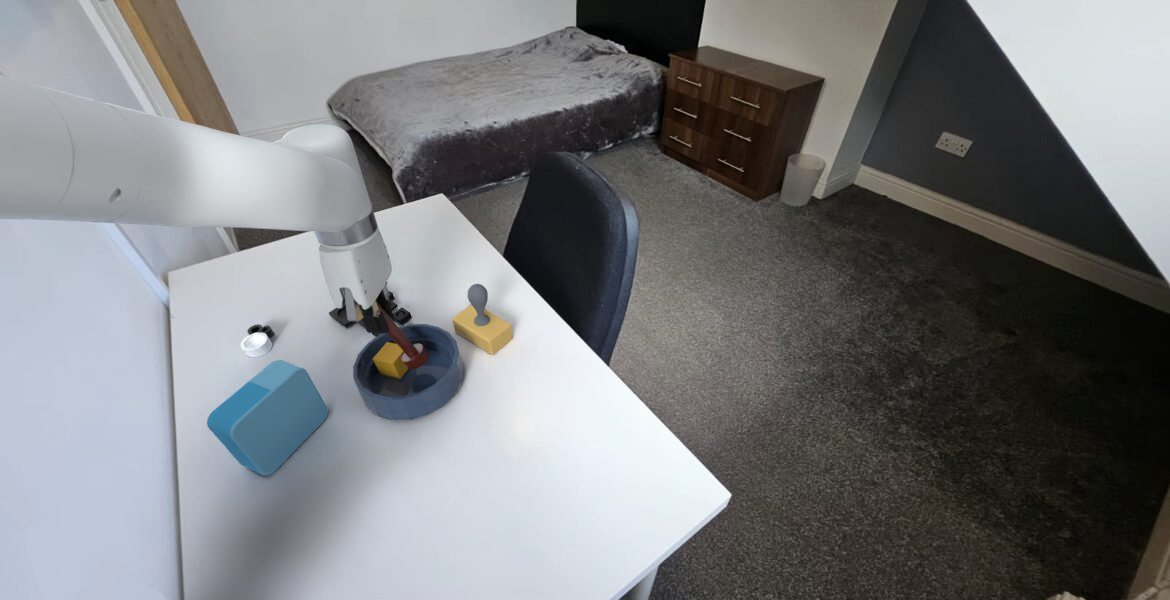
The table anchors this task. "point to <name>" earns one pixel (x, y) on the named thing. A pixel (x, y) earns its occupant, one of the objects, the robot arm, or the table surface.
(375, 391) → the bowl
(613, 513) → the table surface
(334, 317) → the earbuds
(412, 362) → the red capped peg
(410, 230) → the table surface
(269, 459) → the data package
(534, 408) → the table surface
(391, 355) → the block
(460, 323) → the rubber stamp
